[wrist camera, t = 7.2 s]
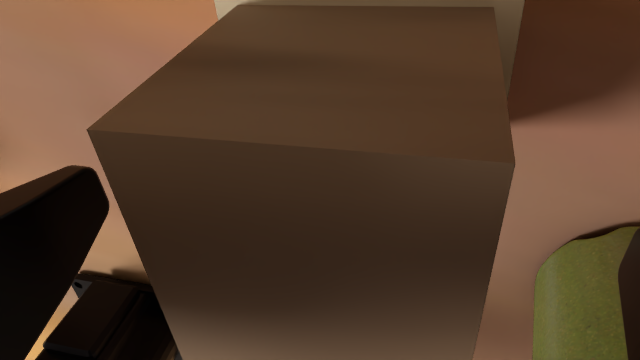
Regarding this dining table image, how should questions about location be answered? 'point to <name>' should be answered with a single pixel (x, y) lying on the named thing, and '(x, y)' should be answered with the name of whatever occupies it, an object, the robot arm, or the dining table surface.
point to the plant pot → (581, 300)
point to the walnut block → (319, 182)
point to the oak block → (505, 5)
